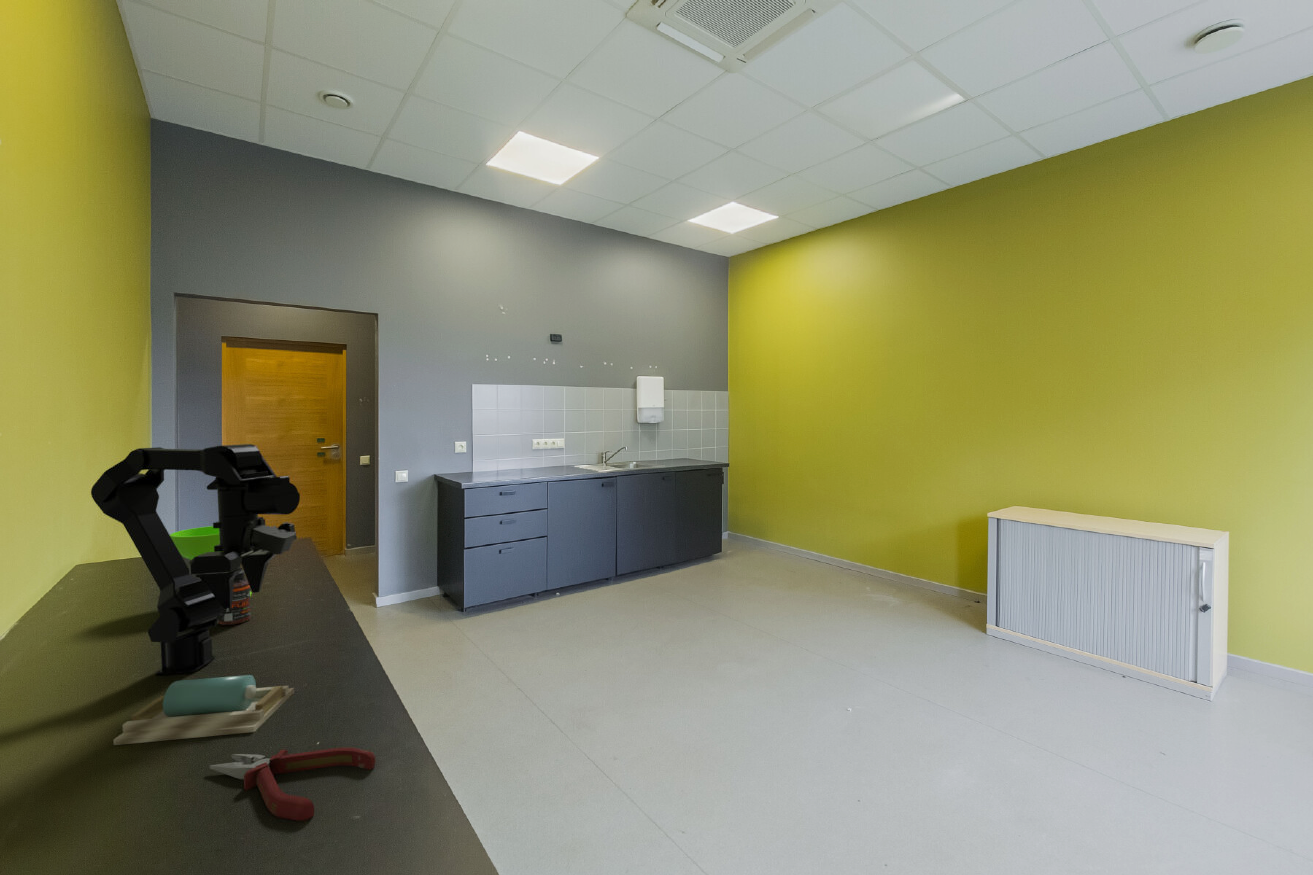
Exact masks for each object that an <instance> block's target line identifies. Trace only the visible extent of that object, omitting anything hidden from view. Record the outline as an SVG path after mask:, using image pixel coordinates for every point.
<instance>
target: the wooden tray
mask: <svg viewBox="0 0 1313 875" xmlns="http://www.w3.org/2000/svg"><path fill="white" fill-rule="evenodd" d="M289 687H290V686H289V685H278V686H277V685H276V686H267V687H256V693H255V696H254V699H253V701H252V703H251V705H250V706H249V707H248V708H247V709H246V710H241V711H230V712H219V713H208V714H197V715H185V716H174V717H168V716H166V715H165V713H164V711H163V699H164V696H165V695H161V696H158V697H157V698H156V699H154V700H153V701H151V702H149V704H147V705H145V706H144V707H142V708H141V709H140V710H139V709H138V711H136V712H135V713H133V714H131V720H127V721H126V722H124V723H123V724H122V725H121V726H122V733H121V734H119V735H118V736H116V737H115V738H114V739H113V746H121V745H130V744H140V743H141V744H142V743H150V742H151V743H152V742H161V741H162V742H163V741H173V740H182V739H183V740H184V739H193V738H205V737H213V736H214V737H216V736H223V735H224V736H225V735H227V736H228V735H237V734H245V733H247V734H248V733H255V732H256V731H257V730H258V729H259V728H260V727H261V726H262V725H263V724H264V723H265V722H266V721H267V720H268V719H270V717H271V716H272V715H273V714H274V713H275V712H276V711H277V710H278V709H279V708H280V707H281V706H282V705H283V704H284V703H286V701H288V699H290V697H291V696H292V695H293V694H294V693H295V688H294V687H290V688H289Z"/></svg>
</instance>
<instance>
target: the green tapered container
mask: <svg viewBox="0 0 1313 875" xmlns="http://www.w3.org/2000/svg"><path fill="white" fill-rule="evenodd" d="M169 535H170V537H171V538H172V540H173V542H174V544H175V545H176V547H177V549H178V551H179V552H180V554H181V556H182V558H185V559H188V560H190V561H191V560H192V559H193V558H194V557H196V556H198V555H201V554H204V553H207V552H214V546H216V545H218V544H220V537H219V528H214V529H213V525H209V526H202V527H201V526H200V527H194V528H189V529H188V528H187V529H184V530H183V529H182V530H179V531H174V532H172V533H169ZM219 552H222V551H219ZM251 594H252V595H253V592H252V590H250V597H251V596H252V595H251Z"/></svg>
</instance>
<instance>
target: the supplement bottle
mask: <svg viewBox="0 0 1313 875" xmlns="http://www.w3.org/2000/svg"><path fill="white" fill-rule="evenodd" d="M250 591H251V588H250V586H249V583H248V580H247V578H245V572H244V570H241V571H240V572H239V573H238V574H237V575H236V576H235V578H234V586H233V598H232V605H231V607H230V608H226V609H224V608H223V607H221V611H220V614H219V618H218V624H219V625H221V626H234V625H239V624H242V623H245V622H247V621H249V620H250V619H251V613H252V610H251V596H250Z"/></svg>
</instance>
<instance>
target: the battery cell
mask: <svg viewBox="0 0 1313 875" xmlns="http://www.w3.org/2000/svg"><path fill="white" fill-rule="evenodd" d="M256 684H257V683H256V679H255V677H254V676H253V675H252V674H245V675H234V676H233V675H231V676H221V677H208V678H195V679H194V678H193V679H185V680H184V679H183V680H182V679H181V680H176V681H173V682H172V683H171V684H170V685H169V686H168V687H167V689H166V691H165V693H164V695H163V696H164V699H163V711H164V713H165V715H166V716H168V717H174V716H185V715H197V714H208V713H219V712H230V711H241V710H246V709H247V708H248V707H249V706H250V705H251V703H252V701H253V699H254V696H255V693H256V688H257V686H256Z"/></svg>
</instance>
